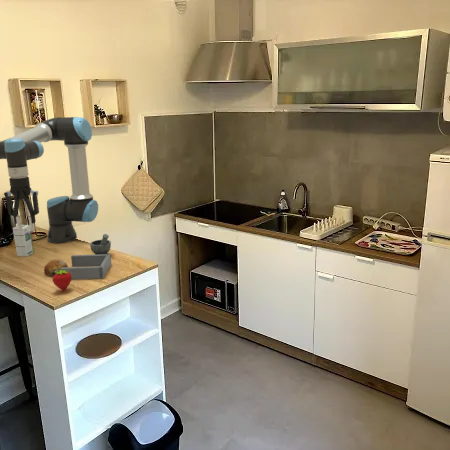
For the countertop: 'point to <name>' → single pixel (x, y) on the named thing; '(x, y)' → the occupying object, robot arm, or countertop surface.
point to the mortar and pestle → (101, 245)
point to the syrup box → (23, 241)
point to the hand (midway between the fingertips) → (26, 230)
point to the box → (89, 272)
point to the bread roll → (54, 267)
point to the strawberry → (62, 279)
